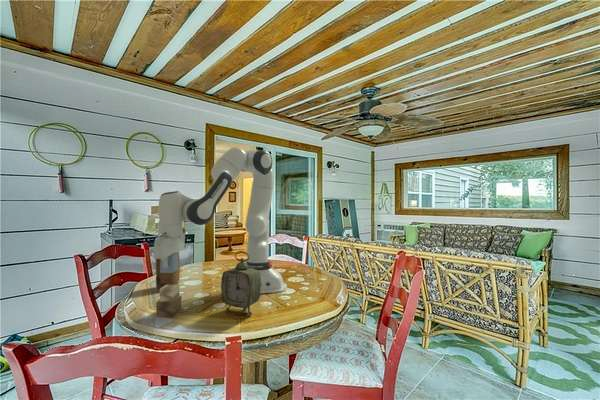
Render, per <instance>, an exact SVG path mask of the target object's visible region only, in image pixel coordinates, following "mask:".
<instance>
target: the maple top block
mask: <svg viewBox="0 0 600 400" xmlns="http://www.w3.org/2000/svg"><path fill="white" fill-rule="evenodd" d="M180 292H181V291H180V284H178V285H165V286H163V287H162V288H159V300H160V302H174V301H175V300H176V299H177V298H179V297H180V296H181V295H180V294H181V293H180Z"/></svg>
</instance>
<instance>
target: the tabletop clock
mask: <svg viewBox="0 0 600 400" xmlns="http://www.w3.org/2000/svg"><path fill="white" fill-rule="evenodd" d="M238 254H245V255H246V257H247V256H248V259H247V258H246V259H244V258H243V257H240V258H237V255H238ZM234 258H235V259H236V261H238V262H237V264H236V266H235V267H233V268H231V269H227V270H225V271H223V273H222V275H221V285H220V289H221V290H220V291H221V292H220V293H221V298H222V302H223V303H224V304H225V305H228V306H227V307H226V308H225V312H227V313H228V312H230V308H231V307H233V308H241V309H242V310H244V311H247V317H251V316H252V312H251V311H250V308H251V307H250V306H253V305H254V304H256V303H257V302H259V300H260V298H261V294H262V293H261V276H260V272H259V271H258V270H256V269H253V268H249V267H248V265H247V263H246V261H248V260H249V255H248V254H247V251H243V250H241V251H237V252H236V253H235V254H234Z"/></svg>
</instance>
